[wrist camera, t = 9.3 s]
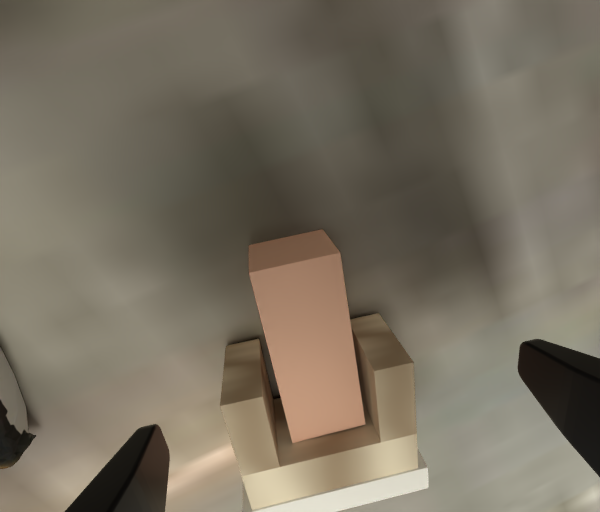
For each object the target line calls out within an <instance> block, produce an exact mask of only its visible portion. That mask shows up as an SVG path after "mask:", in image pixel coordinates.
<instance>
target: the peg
mask: <svg viewBox="0 0 600 512" xmlns="http://www.w3.org/2000/svg"><path fill="white" fill-rule="evenodd" d="M249 275H250V279H251V283H252V287H253V291H254V295H255V299H256V303H257V307H258V311H259V314H260V318H261V322H262V326H263V330H264V334H265V338H266V342H267V346H268V350H269V353H270V357H271V361H272V365H273V369H274V373H275V377H276V381H277V385H278V389H279V392H280V396H281V400H282V404H283V408H284V412H285V416H286V420H287V424H288V428H289V431H290V435H291V439H292V443H296V442H299V441H303V440H307V439H311V438H315V437H319V436H323V435H326V434H330V433H334V432H338V431H342V430H346V429H350V428H354V427H357V426H361V425H365V418H364V411H363V404H362V397H361V390H360V384H359V377H358V370H357V363H356V356H355V350H354V343H353V336H352V329H351V322H350V316H349V309H348V302H347V295H346V289H345V282H344V275H343V268H342V261H341V255H340V252H339V250H338V249H337V248H336V246H335V245H334V244H333V242H332V241H331V240H330V238H329V237H328V236H327V234H326V233H325V232H324V230H323V229H321V230H316V231H312V232H307V233H302V234H298V235H293V236H289V237H284V238H279V239H275V240H270V241H266V242H261V243H256V244H252V245H249Z"/></svg>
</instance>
